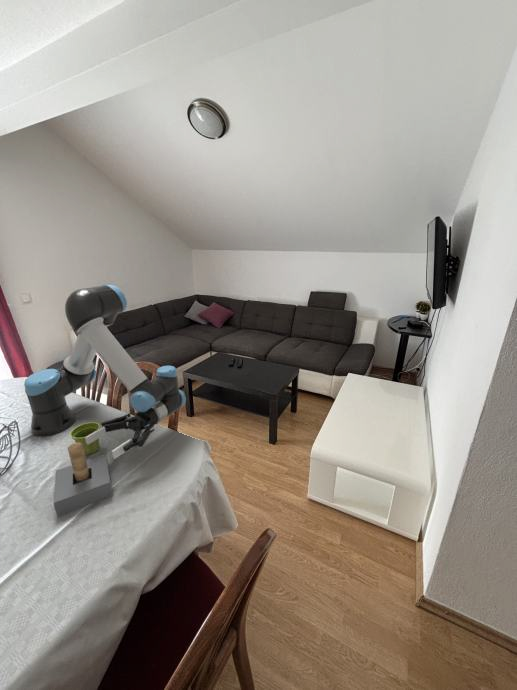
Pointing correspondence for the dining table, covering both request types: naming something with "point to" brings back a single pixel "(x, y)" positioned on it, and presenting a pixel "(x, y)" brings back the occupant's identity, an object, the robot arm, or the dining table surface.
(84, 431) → the plant pot
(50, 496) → the dining table surface
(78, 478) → the oak dowel
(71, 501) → the socket block
